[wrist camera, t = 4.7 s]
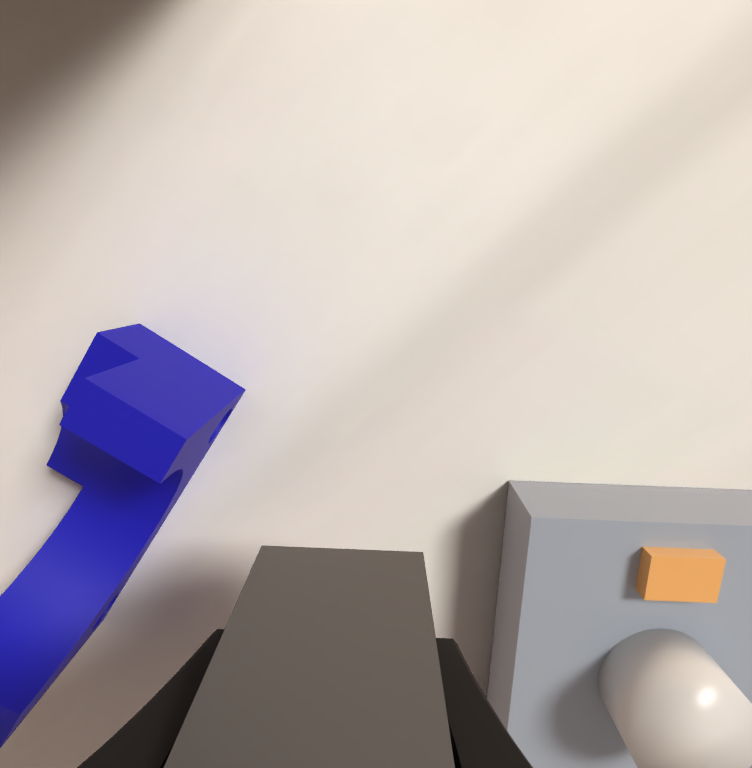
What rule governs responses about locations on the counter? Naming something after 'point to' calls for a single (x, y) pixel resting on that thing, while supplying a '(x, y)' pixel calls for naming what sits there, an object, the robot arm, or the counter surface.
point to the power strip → (625, 626)
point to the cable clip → (106, 498)
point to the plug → (323, 668)
